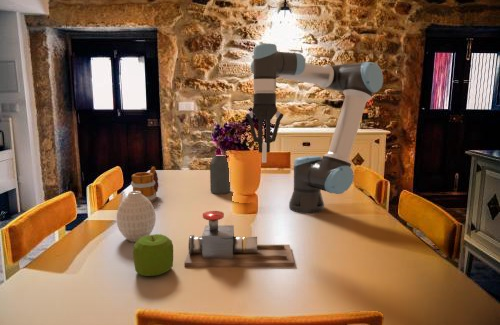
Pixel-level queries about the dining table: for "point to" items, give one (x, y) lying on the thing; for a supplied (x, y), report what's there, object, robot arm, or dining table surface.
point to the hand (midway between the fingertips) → (264, 161)
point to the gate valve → (213, 239)
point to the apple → (153, 255)
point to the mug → (146, 183)
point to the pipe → (244, 244)
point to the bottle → (219, 175)
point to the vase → (135, 216)
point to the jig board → (248, 258)
